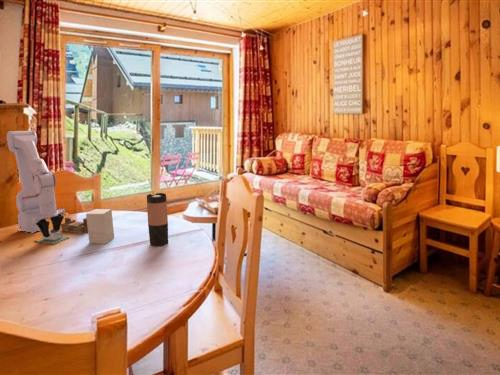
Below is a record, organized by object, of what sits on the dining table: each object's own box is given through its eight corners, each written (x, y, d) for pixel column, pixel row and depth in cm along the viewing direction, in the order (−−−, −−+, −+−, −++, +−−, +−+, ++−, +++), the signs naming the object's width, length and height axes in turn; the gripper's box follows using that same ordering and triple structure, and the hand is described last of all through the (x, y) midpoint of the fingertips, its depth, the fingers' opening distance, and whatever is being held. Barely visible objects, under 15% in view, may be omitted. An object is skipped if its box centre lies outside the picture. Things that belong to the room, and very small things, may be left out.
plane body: (61, 230, 154) (60, 217, 153) (70, 227, 159) (69, 214, 157) (85, 233, 150) (83, 220, 149) (93, 230, 155) (92, 217, 153)
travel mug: (163, 247, 135) (161, 197, 131) (145, 245, 136) (142, 196, 132) (171, 240, 142) (169, 193, 138) (154, 239, 143) (152, 192, 139)
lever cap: (41, 239, 141) (40, 230, 140) (51, 235, 145) (50, 227, 144) (53, 240, 139) (52, 232, 138) (62, 237, 143) (61, 228, 143)
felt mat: (34, 241, 140) (34, 240, 140) (51, 235, 148) (51, 234, 148) (53, 244, 137) (53, 243, 137) (69, 238, 145) (69, 237, 144)
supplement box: (114, 237, 145) (112, 208, 142) (105, 244, 138) (103, 214, 135) (98, 237, 146) (95, 208, 143) (88, 243, 139) (85, 213, 136)
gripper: (39, 208, 131) (43, 241, 134) (69, 199, 145) (73, 230, 147) (25, 206, 133) (30, 239, 136) (56, 198, 147) (60, 228, 150)
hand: (51, 234), depth 142 cm, fingers closed on lever cap, 4 cm apart
